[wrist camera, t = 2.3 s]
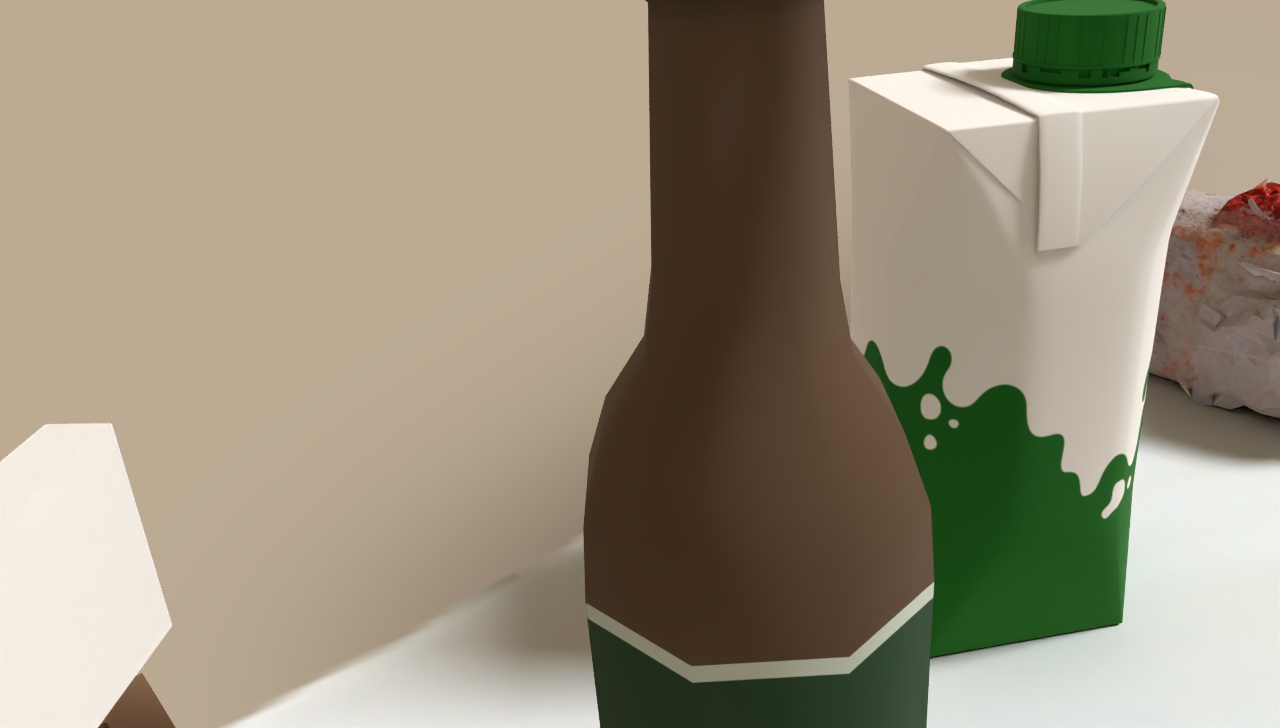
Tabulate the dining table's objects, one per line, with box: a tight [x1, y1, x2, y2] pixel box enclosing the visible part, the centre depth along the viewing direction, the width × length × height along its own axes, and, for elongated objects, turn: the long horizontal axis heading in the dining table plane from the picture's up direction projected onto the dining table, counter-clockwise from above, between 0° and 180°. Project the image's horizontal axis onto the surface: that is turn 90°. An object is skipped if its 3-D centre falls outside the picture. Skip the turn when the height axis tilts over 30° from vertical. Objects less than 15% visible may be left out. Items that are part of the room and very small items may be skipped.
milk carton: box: [849, 0, 1219, 657], centre depth 35 cm, size 9×9×20 cm
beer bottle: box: [584, 0, 934, 728], centre depth 23 cm, size 8×8×24 cm
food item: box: [1149, 179, 1280, 418], centre depth 49 cm, size 14×8×10 cm, turn 37°
